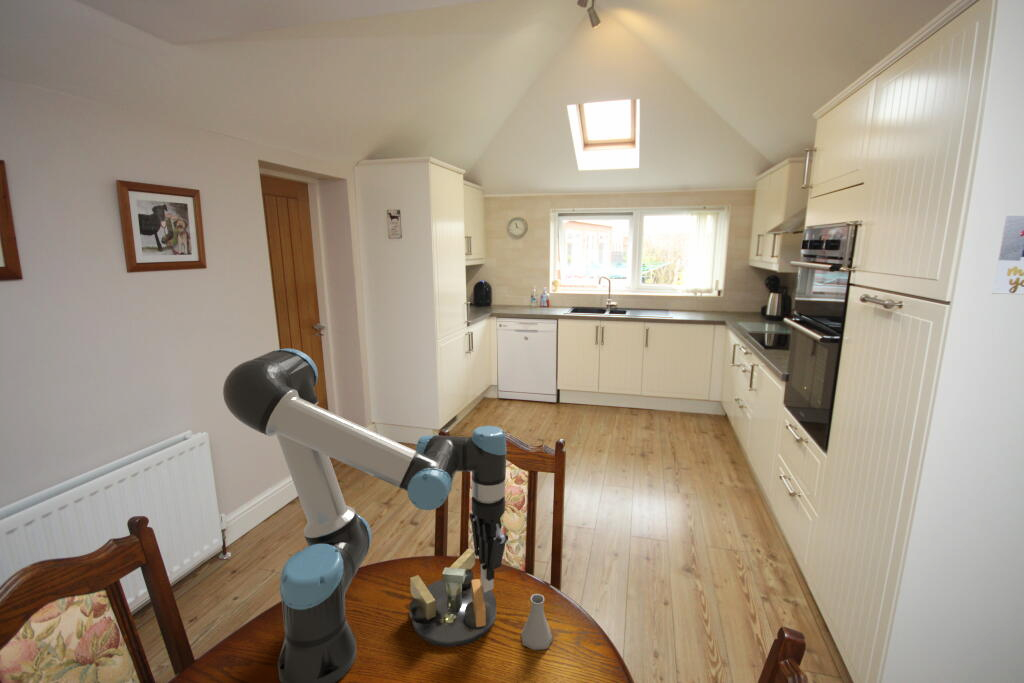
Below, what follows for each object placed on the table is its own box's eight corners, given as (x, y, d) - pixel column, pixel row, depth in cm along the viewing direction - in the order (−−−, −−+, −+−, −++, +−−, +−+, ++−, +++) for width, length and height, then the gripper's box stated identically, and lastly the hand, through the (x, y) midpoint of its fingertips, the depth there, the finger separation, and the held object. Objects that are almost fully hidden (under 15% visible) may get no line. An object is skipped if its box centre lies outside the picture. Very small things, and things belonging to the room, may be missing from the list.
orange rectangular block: (494, 633, 104) (494, 608, 103) (467, 637, 103) (467, 612, 102) (488, 601, 114) (488, 577, 112) (463, 604, 112) (462, 580, 111)
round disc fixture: (397, 641, 105) (395, 597, 102) (427, 574, 127) (426, 536, 125) (488, 651, 102) (488, 606, 100) (503, 581, 124) (503, 543, 122)
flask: (550, 654, 102) (551, 613, 100) (517, 648, 103) (518, 608, 101) (554, 628, 109) (555, 589, 107) (523, 623, 110) (524, 585, 108)
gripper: (519, 503, 103) (516, 599, 107) (487, 479, 113) (485, 567, 117) (490, 513, 98) (488, 612, 103) (459, 487, 109) (459, 579, 113)
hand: (487, 588), depth 110 cm, fingers closed
